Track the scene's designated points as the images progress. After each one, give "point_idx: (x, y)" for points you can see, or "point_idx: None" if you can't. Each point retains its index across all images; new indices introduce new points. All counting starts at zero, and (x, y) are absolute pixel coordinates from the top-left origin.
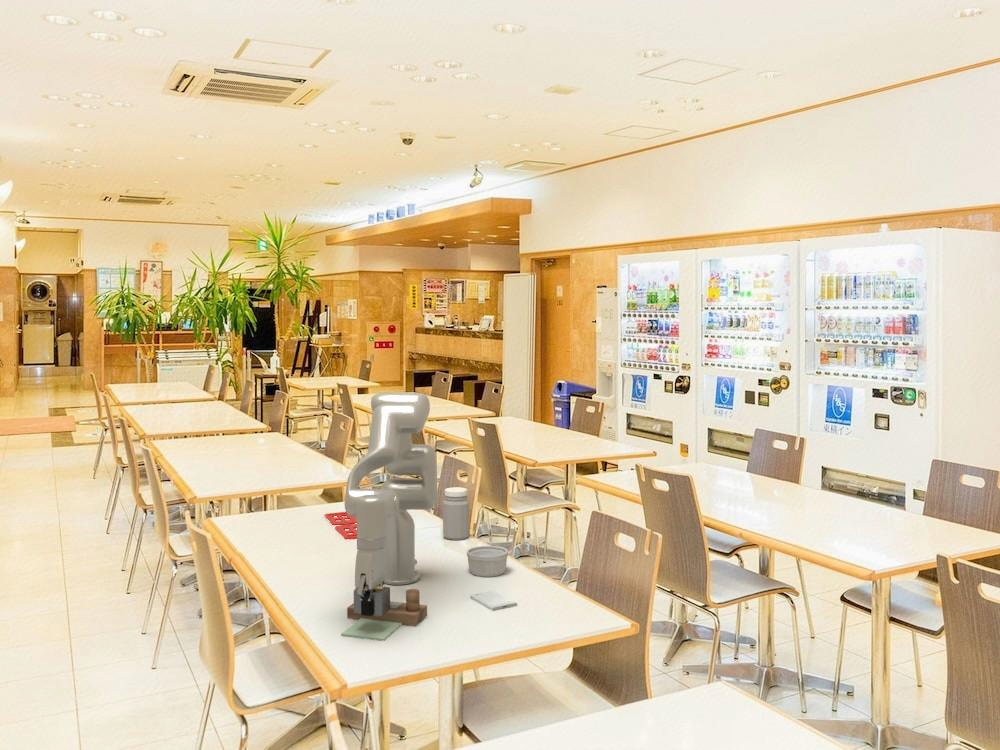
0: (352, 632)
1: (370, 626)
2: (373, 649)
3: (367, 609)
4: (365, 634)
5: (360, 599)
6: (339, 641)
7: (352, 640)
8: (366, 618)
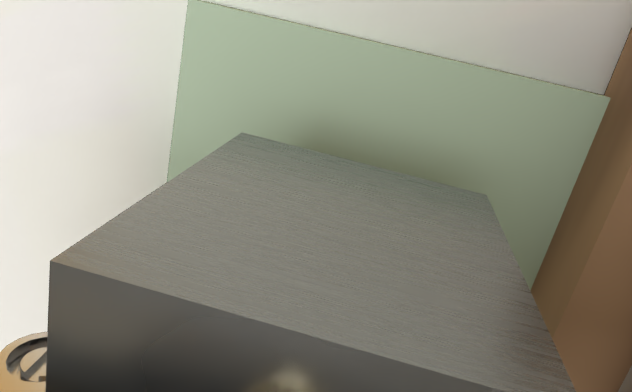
0: (229, 99)
1: None
2: (13, 293)
3: None
4: None
5: (16, 343)
6: (81, 22)
7: (121, 125)
8: (587, 160)
